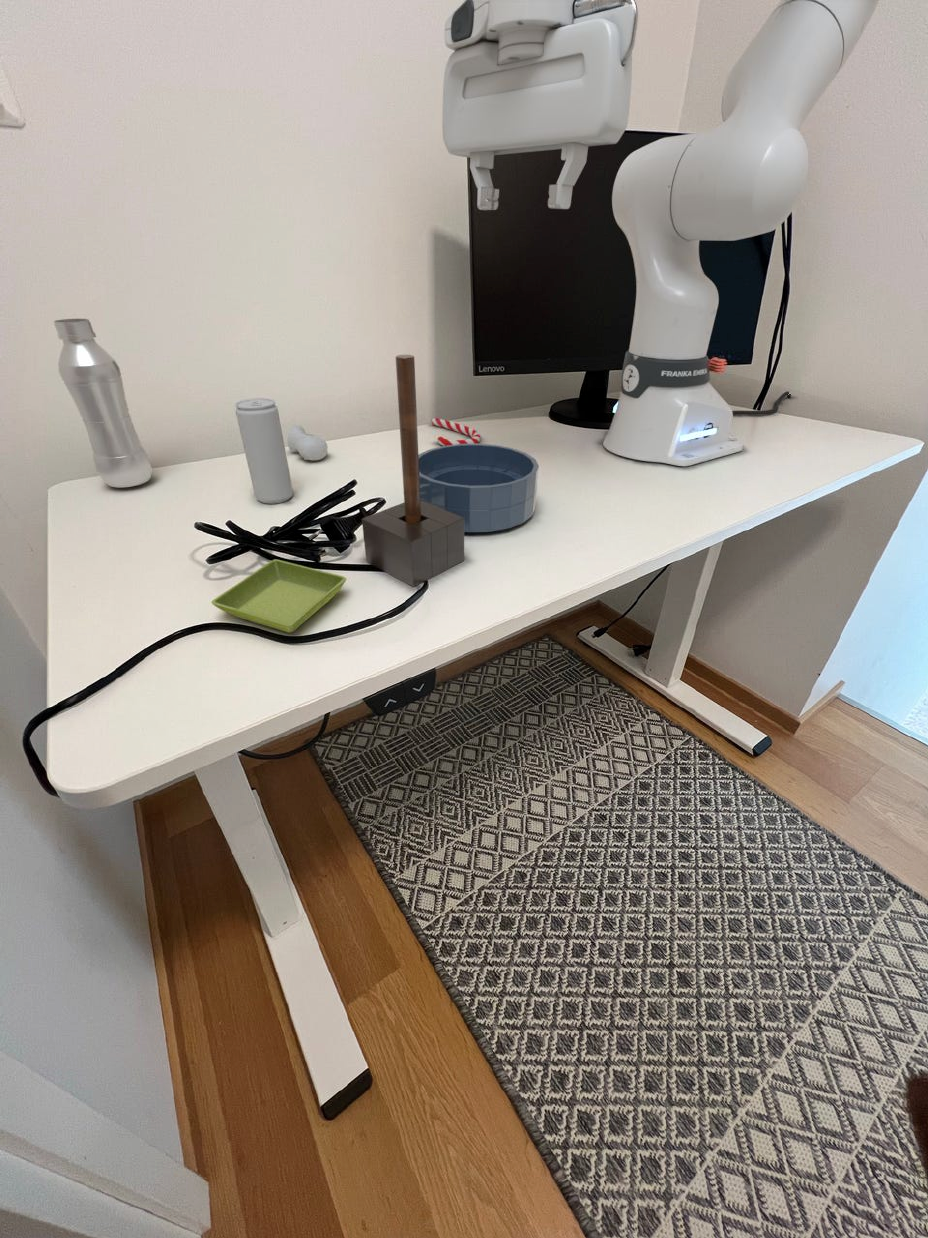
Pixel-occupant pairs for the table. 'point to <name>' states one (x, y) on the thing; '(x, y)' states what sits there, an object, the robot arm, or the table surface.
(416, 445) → the stick
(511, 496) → the bowl
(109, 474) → the plastic bottle
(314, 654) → the table surface
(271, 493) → the beverage can
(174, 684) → the table surface
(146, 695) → the table surface
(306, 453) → the smooth white sculpture
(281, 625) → the saucer
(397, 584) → the table surface
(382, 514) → the holder
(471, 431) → the candy cane
